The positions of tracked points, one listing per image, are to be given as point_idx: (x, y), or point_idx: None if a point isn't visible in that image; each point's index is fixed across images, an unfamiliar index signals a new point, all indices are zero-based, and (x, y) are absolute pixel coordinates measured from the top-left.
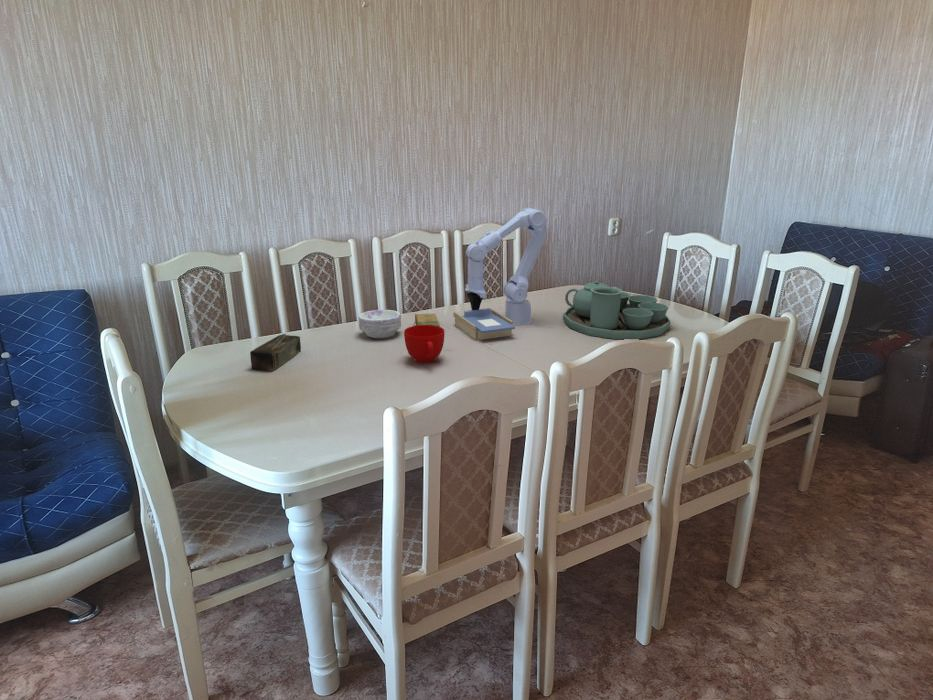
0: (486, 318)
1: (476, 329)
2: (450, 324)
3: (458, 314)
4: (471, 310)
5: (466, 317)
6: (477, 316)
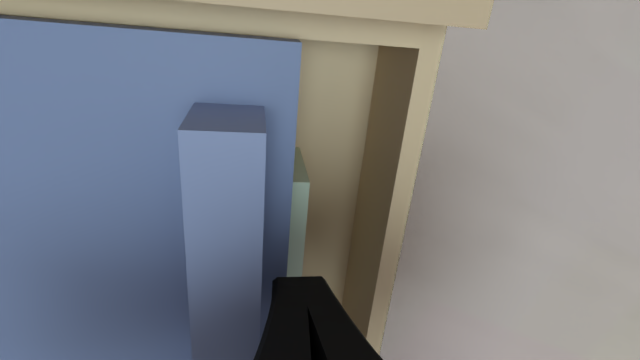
0: (32, 335)
1: None
2: None
3: (296, 4)
4: (250, 266)
5: (180, 108)
6: (171, 270)
